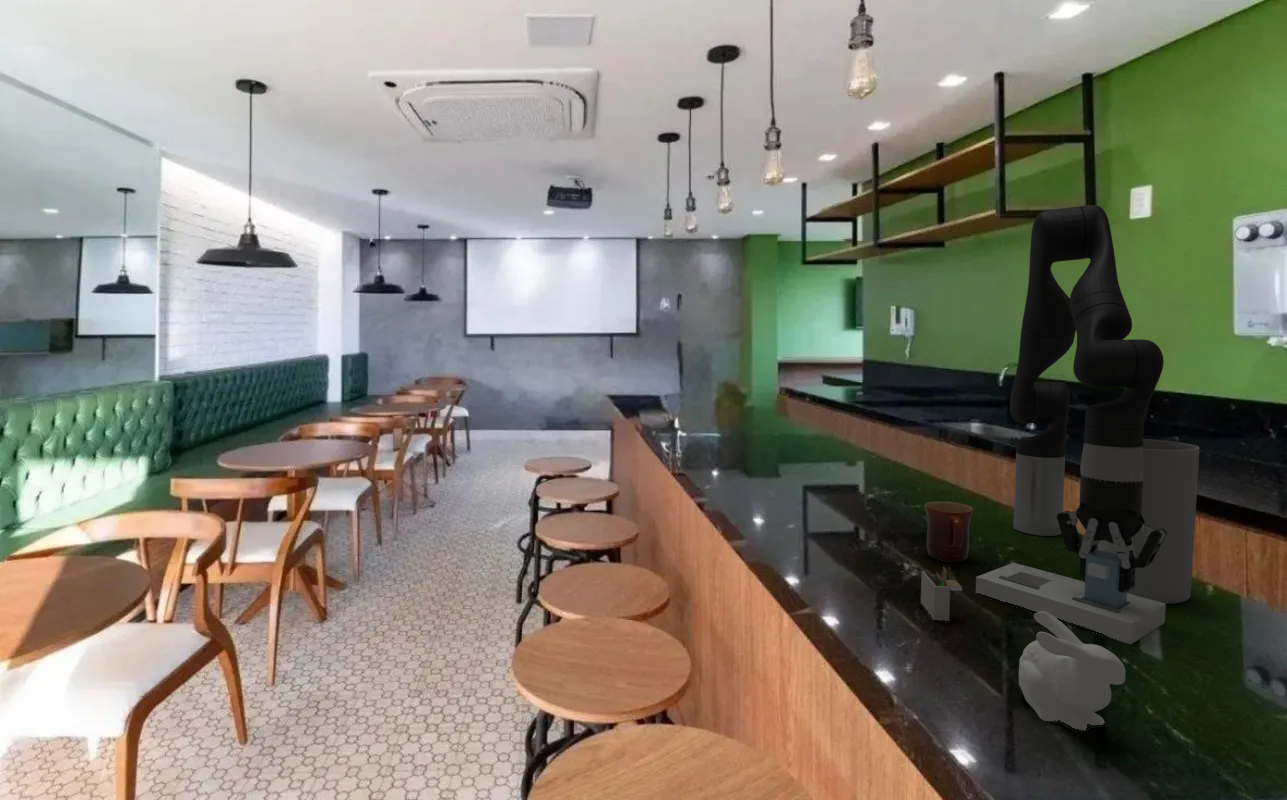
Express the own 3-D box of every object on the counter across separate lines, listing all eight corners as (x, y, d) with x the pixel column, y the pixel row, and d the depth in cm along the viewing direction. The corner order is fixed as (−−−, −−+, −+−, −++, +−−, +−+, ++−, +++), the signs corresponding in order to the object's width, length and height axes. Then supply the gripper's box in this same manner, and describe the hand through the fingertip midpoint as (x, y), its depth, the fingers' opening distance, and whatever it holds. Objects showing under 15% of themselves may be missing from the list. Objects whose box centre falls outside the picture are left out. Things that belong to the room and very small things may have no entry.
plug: (1095, 605, 99) (1098, 549, 98) (1125, 614, 96) (1128, 556, 95) (1079, 614, 96) (1082, 556, 95) (1110, 623, 93) (1113, 563, 92)
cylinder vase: (1169, 581, 111) (1178, 440, 109) (1205, 609, 100) (1215, 451, 97) (1086, 574, 115) (1092, 437, 113) (1111, 600, 104) (1118, 448, 102)
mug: (918, 549, 130) (919, 500, 129) (964, 551, 129) (966, 502, 128) (932, 570, 119) (934, 516, 118) (983, 572, 117) (985, 518, 116)
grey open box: (946, 607, 103) (947, 559, 102) (961, 625, 96) (963, 574, 96) (920, 606, 104) (921, 558, 103) (933, 624, 97) (935, 573, 96)
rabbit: (1133, 742, 67) (1139, 632, 66) (1048, 746, 67) (1053, 636, 66) (1053, 681, 79) (1057, 588, 78) (981, 685, 79) (984, 591, 78)
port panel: (1013, 579, 114) (1013, 561, 113) (1164, 623, 95) (1165, 601, 95) (975, 594, 107) (976, 575, 107) (1130, 644, 89) (1131, 621, 88)
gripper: (1180, 479, 91) (1174, 596, 92) (1070, 464, 103) (1066, 568, 104) (1159, 486, 87) (1153, 608, 88) (1047, 469, 99) (1043, 577, 100)
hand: (1105, 585), depth 96 cm, fingers closed on plug, 4 cm apart
